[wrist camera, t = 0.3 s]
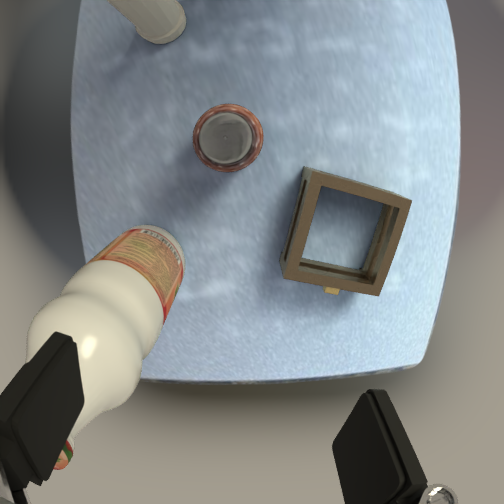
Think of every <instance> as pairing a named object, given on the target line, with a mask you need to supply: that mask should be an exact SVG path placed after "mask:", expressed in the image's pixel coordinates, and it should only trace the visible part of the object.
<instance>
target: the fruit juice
mask: <svg viewBox="0 0 504 504" xmlns="http://www.w3.org/2000/svg"><path fill="white" fill-rule="evenodd" d="M184 273H185V257H184V253H183V251H182V248H181V246H180V244H179V243H178V241H177V240H176V239H175V238H174V237H173V236H172V235H171V234H170V233H169V232H167V231H166V230H164V229H162V228H159V227H157V226H152V225H139V226H135V227H132V228H130V229H128V230H126V231H125V232H123V233H122V234H121V235H120V236H118V237H117V238H116V239H115V240H114V241H112V242H111V243H110V244H109V245H108V246H106V247H105V248H104V249H103V250H102V251H101V252H99V253H98V254H97V255H96V256H95V257H94V258H93V259H91V260H90V261H89V262H88V263H87V264H86V265H85V266H83V267H82V268H81V269H80V270H79V271H78V272H76V274H75V275H74V276H73V277H72V278H71V279H70V280H69V281H68V283H67V284H66V285H65V287H64V288H63V290H62V292H61V294H60V297H57V298H56V299H53V300H51V301H50V302H48V303H47V304H45V305H44V306H43V307H42V308H41V310H39V312H38V313H37V314H36V316H35V317H34V318H33V320H32V322H31V324H30V327H29V330H28V334H27V354H26V361H25V363H27V362H29V361H30V360H31V359H32V358H33V356H34V355H35V354H36V353H37V351H38V350H39V349H40V348H41V347H42V345H43V344H44V343H45V342H46V341H47V340H48V338H49V337H50V336H51V335H52V334H53V333H54V332H56V331H57V332H60V333H63V334H66V335H69V336H71V337H72V338H73V342H76V343H77V349H78V357H79V365H80V373H81V379H82V386H83V392H84V398H85V402H84V406H83V409H82V411H81V413H80V415H79V417H78V419H77V421H76V423H75V425H74V427H73V429H72V431H71V433H70V435H69V437H68V439H67V441H66V443H65V445H64V447H63V449H62V451H61V453H60V456H59V458H58V460H57V462H56V464H55V466H54V469H57V470H60V469H63V468H65V467H66V466H67V465H68V463H69V462H70V460H71V458H72V456H73V451H74V449H75V444H74V438H75V437H76V435H77V434H78V433H79V432H80V431H81V430H82V429H83V428H84V427H85V426H86V425H87V424H88V423H89V422H91V421H92V420H93V419H94V418H95V417H96V416H98V415H99V414H100V413H101V412H105V411H108V410H111V409H113V408H116V407H118V406H119V405H121V404H123V403H124V402H125V401H126V400H127V399H128V398H129V397H130V396H131V395H132V393H133V391H134V390H135V388H136V386H137V384H138V382H139V380H140V376H141V372H142V360H143V359H145V358H146V356H147V355H148V354H149V353H150V351H151V350H152V348H153V347H154V345H155V343H156V341H157V339H158V337H159V335H160V333H161V330H162V327H163V325H164V322H165V320H166V317H167V315H168V313H169V310H170V308H171V306H172V303H173V301H174V299H175V296H176V294H177V292H178V289H179V287H180V285H181V282H182V280H183V277H184Z"/></svg>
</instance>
